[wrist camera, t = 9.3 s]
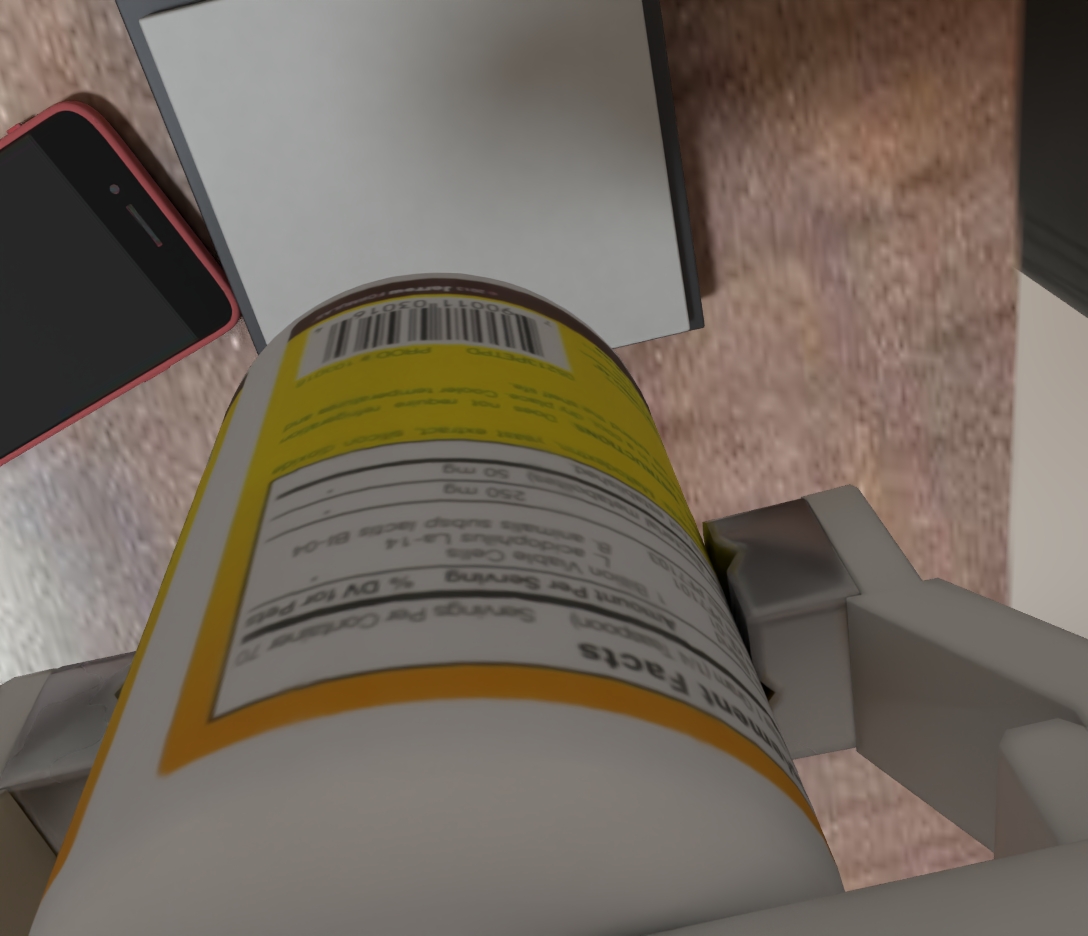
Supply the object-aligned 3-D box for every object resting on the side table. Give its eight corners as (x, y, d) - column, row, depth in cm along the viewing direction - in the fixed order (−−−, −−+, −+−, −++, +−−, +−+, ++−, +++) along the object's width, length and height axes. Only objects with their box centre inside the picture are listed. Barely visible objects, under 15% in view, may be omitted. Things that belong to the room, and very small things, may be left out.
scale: (620, -183, 23) (638, -188, 21) (691, 303, 29) (710, 336, 27) (116, -55, 23) (85, -48, 21) (294, 397, 29) (283, 436, 27)
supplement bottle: (422, 678, 15) (402, 1769, 6) (134, 433, 13) (-536, 1689, 4) (729, 476, 14) (1230, 1518, 5) (475, 155, 11) (610, 1144, 3)
